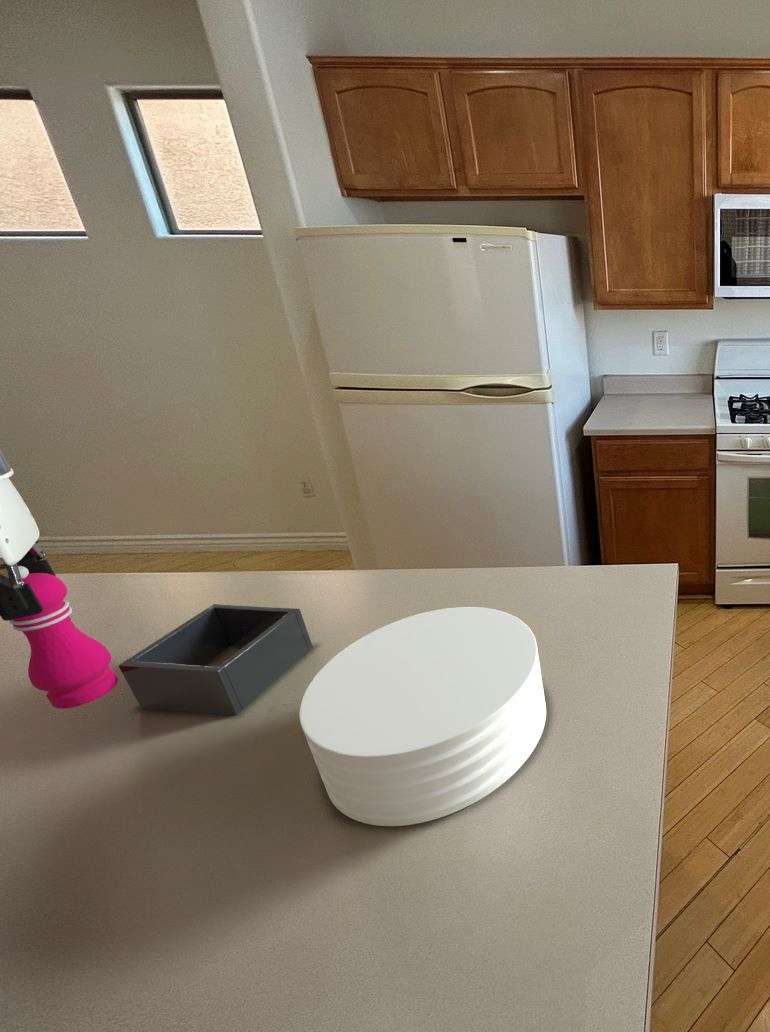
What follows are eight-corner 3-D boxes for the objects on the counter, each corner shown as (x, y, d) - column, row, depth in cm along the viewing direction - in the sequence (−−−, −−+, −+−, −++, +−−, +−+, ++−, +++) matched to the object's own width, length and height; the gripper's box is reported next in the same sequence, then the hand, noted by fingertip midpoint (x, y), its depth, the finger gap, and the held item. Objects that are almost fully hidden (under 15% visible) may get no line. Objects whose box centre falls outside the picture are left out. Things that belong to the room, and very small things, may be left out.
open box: (140, 708, 81) (117, 665, 78) (230, 642, 95) (214, 603, 92) (236, 714, 80) (217, 672, 77) (313, 647, 94) (299, 608, 91)
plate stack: (273, 779, 71) (244, 712, 66) (446, 647, 95) (433, 591, 90) (438, 863, 61) (417, 791, 57) (584, 692, 85) (577, 632, 81)
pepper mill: (41, 721, 71) (-42, 590, 63) (51, 690, 76) (-25, 565, 68) (121, 694, 75) (52, 569, 67) (125, 666, 80) (61, 546, 72)
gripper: (-61, 455, 67) (13, 581, 74) (-142, 504, 54) (-42, 651, 61) (31, 444, 71) (93, 564, 78) (-24, 487, 58) (56, 626, 65)
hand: (33, 601), depth 70 cm, fingers closed on pepper mill, 6 cm apart
